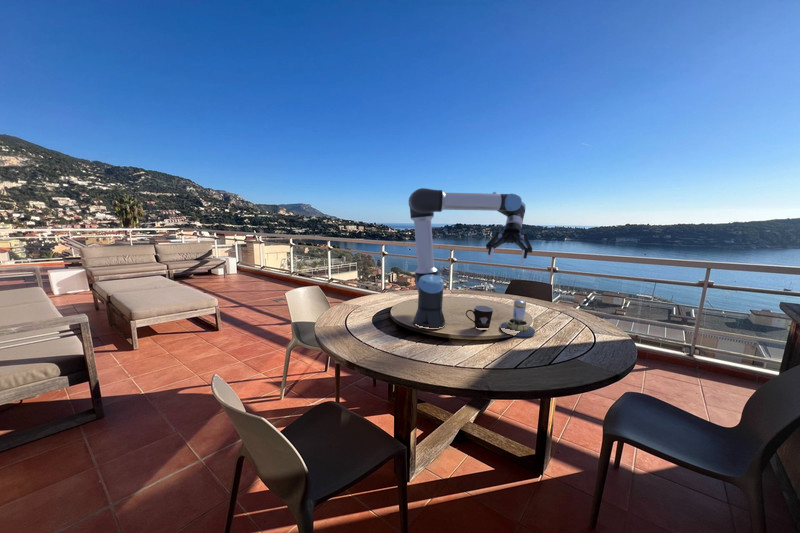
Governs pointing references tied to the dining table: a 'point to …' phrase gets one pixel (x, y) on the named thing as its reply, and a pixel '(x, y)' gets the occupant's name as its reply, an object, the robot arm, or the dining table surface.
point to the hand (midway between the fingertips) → (505, 261)
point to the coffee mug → (482, 316)
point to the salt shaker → (519, 312)
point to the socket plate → (522, 335)
